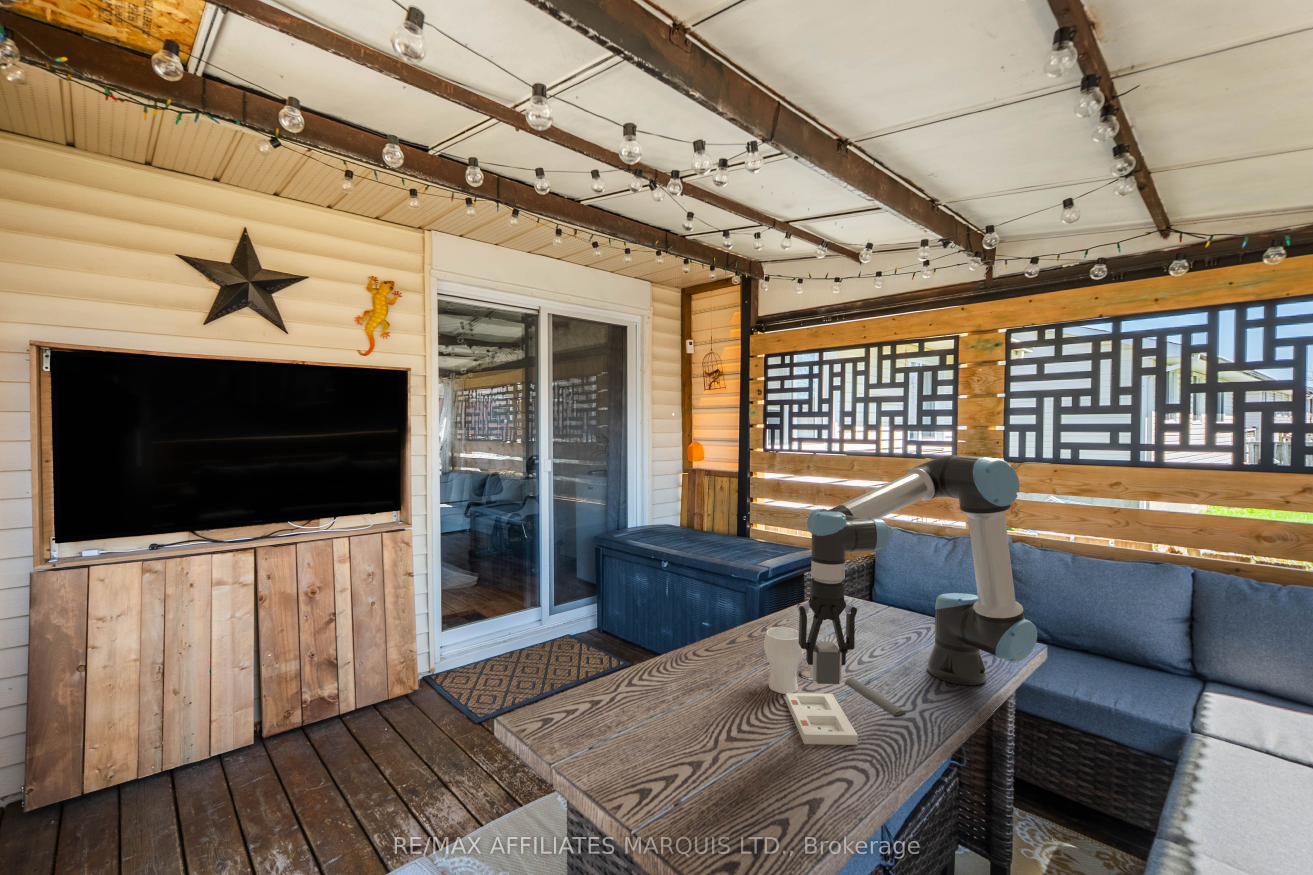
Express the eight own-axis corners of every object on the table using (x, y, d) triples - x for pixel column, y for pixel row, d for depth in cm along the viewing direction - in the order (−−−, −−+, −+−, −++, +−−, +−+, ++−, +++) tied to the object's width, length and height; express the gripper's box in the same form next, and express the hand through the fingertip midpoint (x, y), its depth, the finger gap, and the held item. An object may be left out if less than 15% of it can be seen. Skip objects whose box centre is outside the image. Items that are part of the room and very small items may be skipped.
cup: (804, 698, 154) (805, 641, 154) (763, 694, 157) (763, 638, 156) (802, 680, 165) (803, 627, 164) (763, 677, 167) (764, 624, 167)
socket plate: (832, 701, 153) (832, 693, 153) (857, 744, 133) (857, 734, 133) (785, 701, 153) (785, 692, 153) (804, 743, 133) (804, 733, 133)
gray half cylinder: (856, 682, 165) (856, 676, 165) (907, 715, 147) (907, 708, 147) (843, 684, 164) (843, 678, 164) (893, 718, 146) (893, 711, 145)
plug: (833, 674, 140) (833, 641, 139) (839, 684, 135) (840, 649, 134) (812, 674, 140) (812, 640, 140) (817, 683, 135) (818, 649, 135)
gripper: (861, 575, 140) (858, 671, 141) (785, 574, 140) (783, 670, 141) (872, 584, 133) (869, 685, 133) (792, 582, 133) (790, 684, 134)
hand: (825, 677), depth 137 cm, fingers closed on plug, 5 cm apart
